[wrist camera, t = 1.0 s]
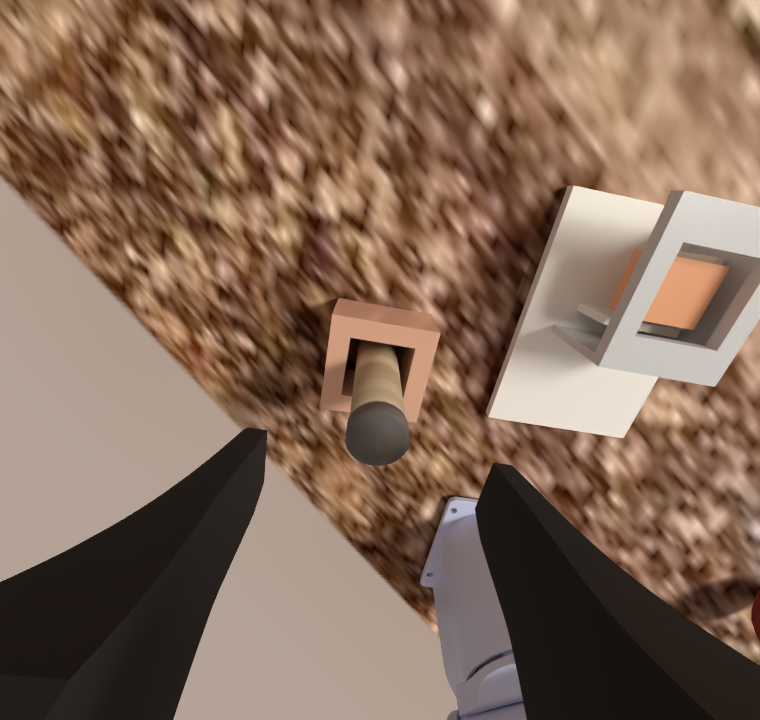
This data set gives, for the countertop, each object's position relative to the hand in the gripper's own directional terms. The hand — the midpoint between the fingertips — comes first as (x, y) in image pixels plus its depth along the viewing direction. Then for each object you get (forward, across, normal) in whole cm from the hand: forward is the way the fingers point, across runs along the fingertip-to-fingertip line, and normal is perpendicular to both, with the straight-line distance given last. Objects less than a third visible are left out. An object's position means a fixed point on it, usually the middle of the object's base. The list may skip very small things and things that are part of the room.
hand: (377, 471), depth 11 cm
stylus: (+10, 0, 0) cm, 10 cm away
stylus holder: (+10, 0, 0) cm, 10 cm away
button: (+8, -12, -7) cm, 16 cm away
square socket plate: (+10, -12, -3) cm, 16 cm away
